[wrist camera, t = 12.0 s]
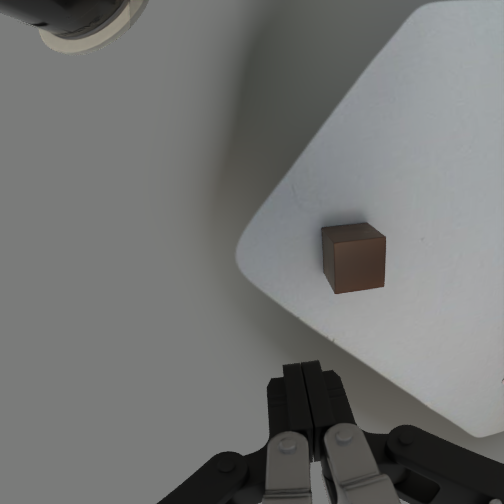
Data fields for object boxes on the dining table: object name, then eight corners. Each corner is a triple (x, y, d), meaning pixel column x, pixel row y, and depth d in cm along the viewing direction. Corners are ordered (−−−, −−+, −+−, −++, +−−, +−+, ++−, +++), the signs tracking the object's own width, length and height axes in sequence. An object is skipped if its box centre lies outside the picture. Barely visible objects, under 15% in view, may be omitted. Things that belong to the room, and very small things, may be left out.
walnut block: (321, 227, 25) (333, 243, 22) (367, 222, 25) (386, 236, 21) (323, 273, 27) (334, 294, 23) (367, 267, 26) (384, 287, 23)
